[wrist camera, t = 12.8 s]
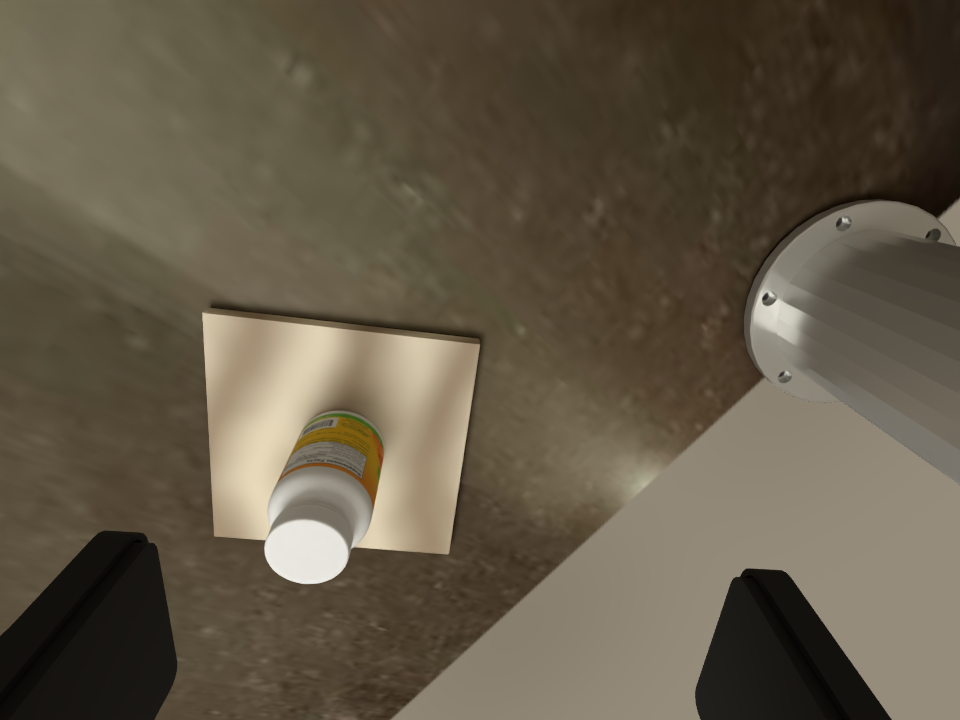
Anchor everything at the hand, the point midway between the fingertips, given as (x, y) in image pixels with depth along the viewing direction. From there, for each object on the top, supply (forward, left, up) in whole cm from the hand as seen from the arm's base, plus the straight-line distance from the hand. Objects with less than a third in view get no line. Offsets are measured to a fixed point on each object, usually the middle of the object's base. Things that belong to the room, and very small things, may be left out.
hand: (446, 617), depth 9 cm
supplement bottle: (+5, +12, -24) cm, 28 cm away
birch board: (+6, +12, -25) cm, 28 cm away
